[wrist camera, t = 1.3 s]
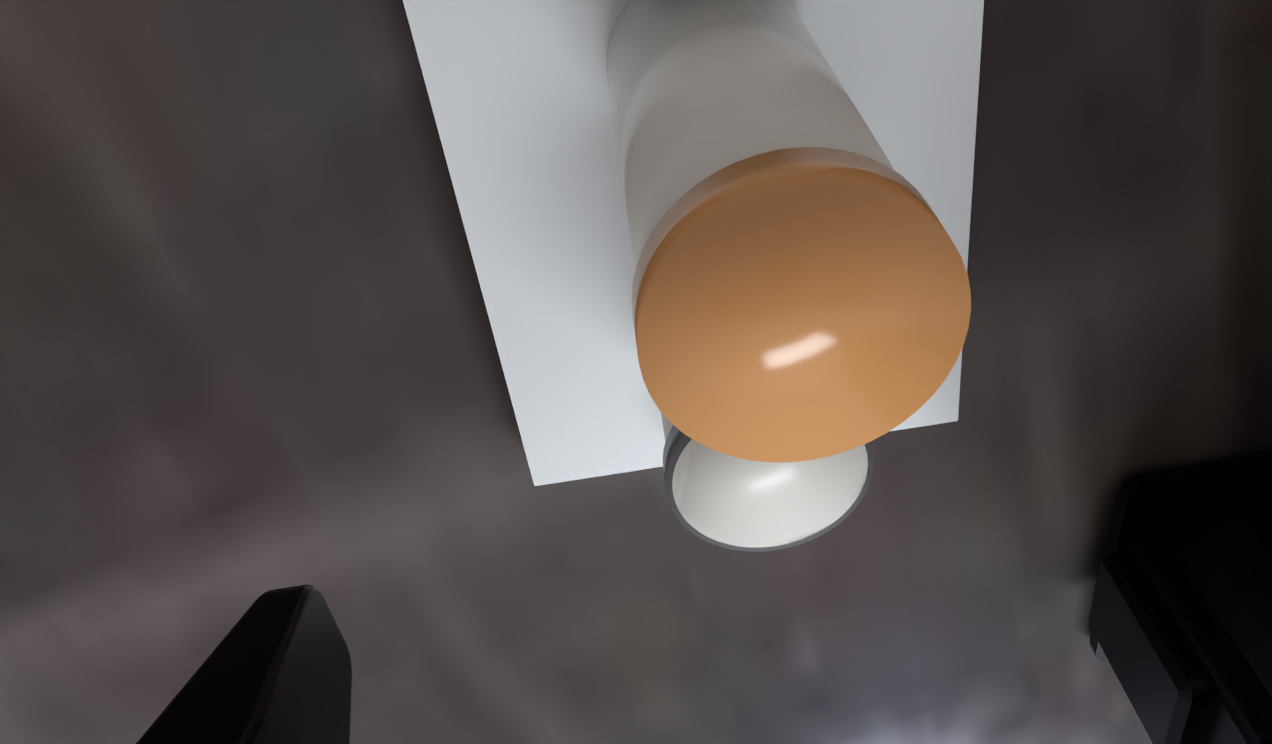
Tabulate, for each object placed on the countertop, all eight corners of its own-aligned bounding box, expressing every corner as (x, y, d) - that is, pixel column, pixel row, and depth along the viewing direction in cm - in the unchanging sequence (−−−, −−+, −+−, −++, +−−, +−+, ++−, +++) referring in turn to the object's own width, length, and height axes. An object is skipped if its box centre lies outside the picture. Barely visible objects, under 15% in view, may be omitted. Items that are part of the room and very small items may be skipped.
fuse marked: (805, -64, 16) (981, 157, 9) (814, 143, 18) (962, 436, 12) (584, -28, 16) (614, 215, 10) (617, 174, 18) (659, 483, 12)
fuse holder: (998, -717, 12) (1217, -870, 8) (943, 391, 23) (1030, 562, 19) (260, -584, 13) (130, -672, 9) (534, 454, 23) (533, 637, 19)
